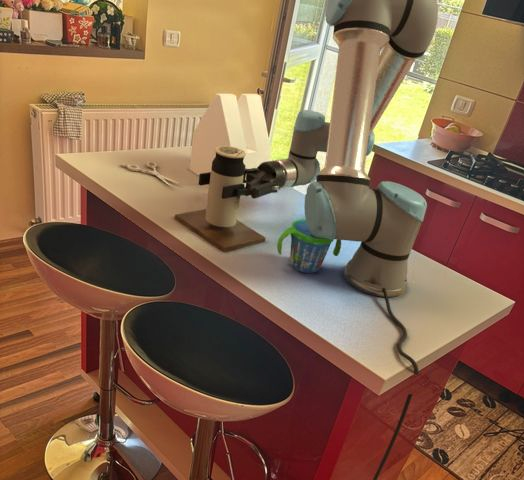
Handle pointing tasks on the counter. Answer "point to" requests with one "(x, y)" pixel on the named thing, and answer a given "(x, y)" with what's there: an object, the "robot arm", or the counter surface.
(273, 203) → the counter surface
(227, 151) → the travel mug
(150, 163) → the scissors
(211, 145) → the white slotted tapered block
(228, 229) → the walnut board
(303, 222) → the snack cup
